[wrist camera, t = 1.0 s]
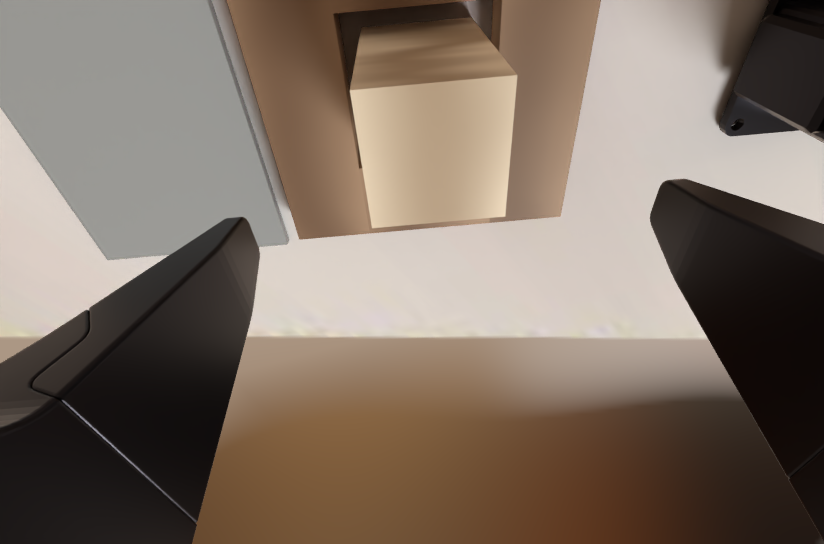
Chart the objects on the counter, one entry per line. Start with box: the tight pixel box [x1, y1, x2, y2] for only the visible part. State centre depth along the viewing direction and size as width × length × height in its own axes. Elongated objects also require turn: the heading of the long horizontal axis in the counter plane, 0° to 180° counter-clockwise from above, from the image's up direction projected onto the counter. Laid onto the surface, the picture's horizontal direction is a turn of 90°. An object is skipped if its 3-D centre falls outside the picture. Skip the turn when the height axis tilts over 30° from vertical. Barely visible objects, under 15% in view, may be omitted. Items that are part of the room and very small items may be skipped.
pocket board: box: [227, 0, 601, 239], centre depth 16 cm, size 12×12×2 cm
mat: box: [0, 0, 289, 260], centre depth 17 cm, size 9×14×1 cm, turn 4°
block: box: [350, 17, 517, 228], centre depth 14 cm, size 4×4×7 cm
